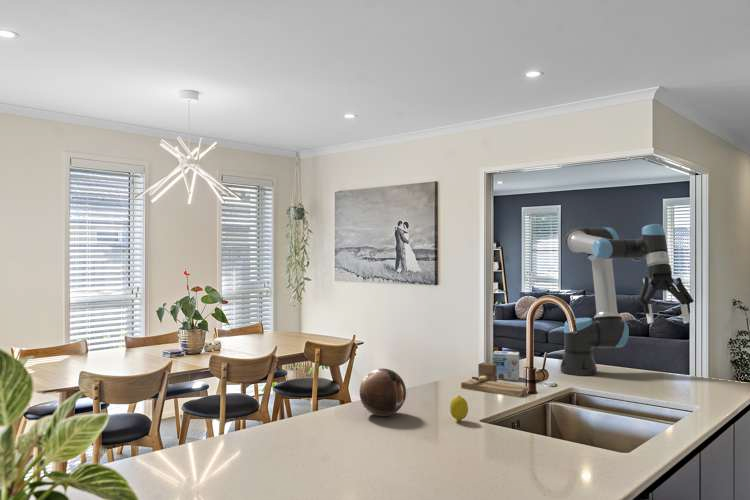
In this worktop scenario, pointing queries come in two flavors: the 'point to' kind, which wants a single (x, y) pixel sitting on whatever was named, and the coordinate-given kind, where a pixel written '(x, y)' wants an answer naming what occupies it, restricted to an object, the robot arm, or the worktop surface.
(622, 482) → the worktop surface
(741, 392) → the worktop surface
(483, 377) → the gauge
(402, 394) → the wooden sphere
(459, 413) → the lemon
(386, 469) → the worktop surface
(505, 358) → the light bulb box
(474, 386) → the board
